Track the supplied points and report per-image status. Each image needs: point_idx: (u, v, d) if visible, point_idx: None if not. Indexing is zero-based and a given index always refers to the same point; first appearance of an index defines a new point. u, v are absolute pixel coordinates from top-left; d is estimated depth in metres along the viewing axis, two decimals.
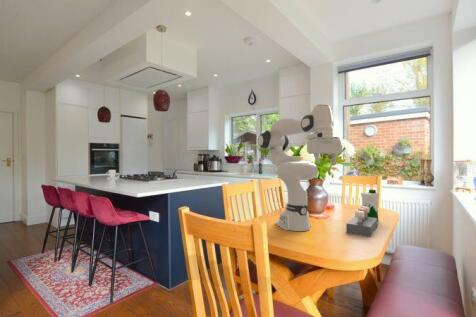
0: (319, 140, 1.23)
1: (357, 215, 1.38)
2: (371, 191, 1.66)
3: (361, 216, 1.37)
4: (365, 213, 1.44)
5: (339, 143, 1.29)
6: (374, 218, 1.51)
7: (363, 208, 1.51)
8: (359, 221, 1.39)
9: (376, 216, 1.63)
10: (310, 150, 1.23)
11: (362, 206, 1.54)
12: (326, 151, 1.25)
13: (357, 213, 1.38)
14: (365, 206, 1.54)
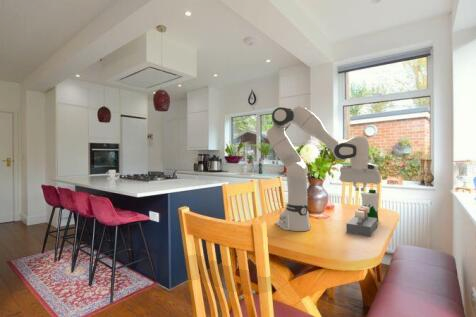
0: None
1: (357, 215, 1.38)
2: (371, 191, 1.66)
3: (361, 216, 1.37)
4: (365, 213, 1.44)
5: None
6: (374, 218, 1.51)
7: (363, 208, 1.51)
8: (359, 221, 1.39)
9: (376, 216, 1.63)
10: (380, 180, 1.34)
11: (362, 206, 1.54)
12: None
13: (357, 213, 1.38)
14: (365, 206, 1.54)
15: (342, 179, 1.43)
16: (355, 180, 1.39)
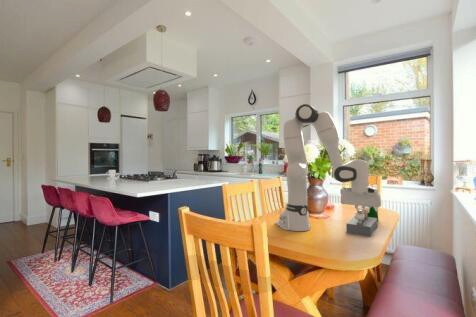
0: None
1: (357, 217, 1.38)
2: None
3: (361, 218, 1.37)
4: (365, 213, 1.44)
5: None
6: (374, 218, 1.51)
7: None
8: (359, 223, 1.39)
9: (376, 216, 1.63)
10: None
11: None
12: None
13: (357, 215, 1.38)
14: None
15: (342, 201, 1.43)
16: (355, 203, 1.39)
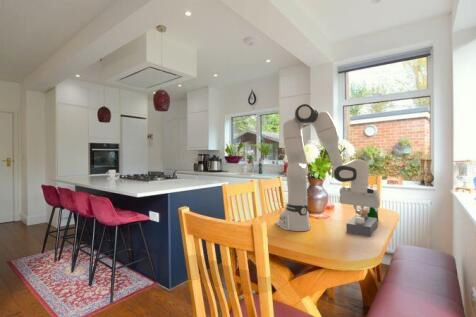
0: None
1: (357, 222, 1.38)
2: None
3: (361, 223, 1.37)
4: (365, 213, 1.44)
5: None
6: (374, 218, 1.51)
7: None
8: None
9: (376, 216, 1.63)
10: (379, 205, 1.34)
11: None
12: None
13: (357, 220, 1.38)
14: None
15: (341, 201, 1.43)
16: (354, 203, 1.39)
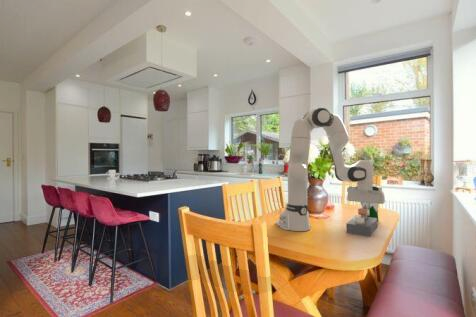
0: None
1: (357, 222, 1.38)
2: None
3: (361, 223, 1.37)
4: (365, 213, 1.44)
5: None
6: (374, 218, 1.51)
7: None
8: None
9: (376, 216, 1.63)
10: (384, 201, 1.47)
11: None
12: None
13: (357, 220, 1.38)
14: None
15: (349, 199, 1.56)
16: (361, 200, 1.52)
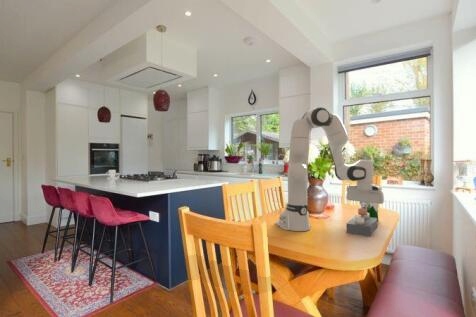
0: None
1: (357, 222, 1.38)
2: None
3: (361, 223, 1.37)
4: (365, 213, 1.44)
5: None
6: (374, 218, 1.51)
7: None
8: None
9: (376, 216, 1.63)
10: (383, 201, 1.47)
11: None
12: None
13: (357, 220, 1.38)
14: None
15: (348, 198, 1.56)
16: (360, 199, 1.52)
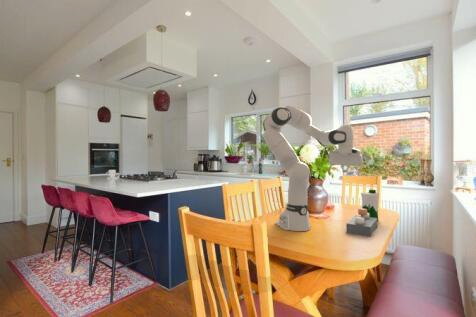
0: None
1: (357, 222, 1.38)
2: (371, 191, 1.66)
3: (361, 223, 1.37)
4: (365, 213, 1.44)
5: None
6: (374, 218, 1.51)
7: None
8: None
9: (376, 216, 1.63)
10: (362, 163, 1.55)
11: None
12: None
13: (357, 220, 1.38)
14: None
15: (330, 162, 1.64)
16: (341, 163, 1.60)
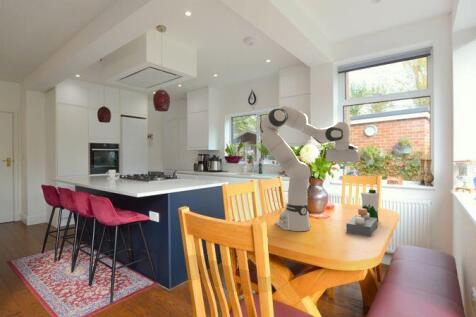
0: None
1: (357, 222, 1.38)
2: (371, 191, 1.66)
3: (361, 223, 1.37)
4: (365, 213, 1.44)
5: None
6: (374, 218, 1.51)
7: None
8: None
9: (376, 216, 1.63)
10: (359, 159, 1.57)
11: None
12: None
13: (357, 220, 1.38)
14: None
15: (327, 159, 1.66)
16: (338, 160, 1.62)
